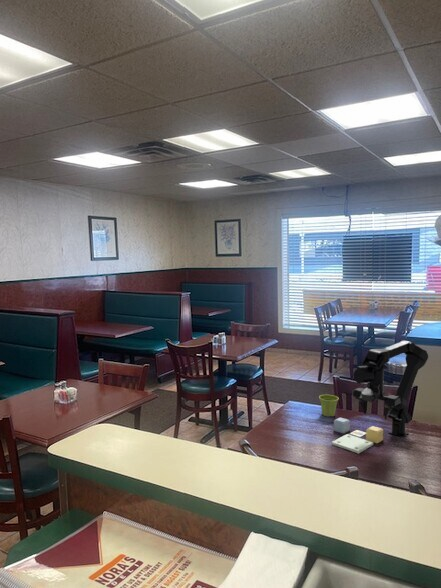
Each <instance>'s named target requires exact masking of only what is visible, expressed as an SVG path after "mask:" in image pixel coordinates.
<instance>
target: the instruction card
mask: <svg viewBox="0 0 441 588" xmlns="http://www.w3.org/2000/svg"><path fill="white" fill-rule="evenodd" d="M349 435H352V436H355V437H358V438H362V437H363V436H366V432H365V431H362V430H359V429H356V430H354V431H352V432H350V433H349Z"/></svg>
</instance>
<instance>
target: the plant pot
mask: <svg viewBox="0 0 441 588" xmlns="http://www.w3.org/2000/svg"><path fill="white" fill-rule="evenodd" d="M318 398H319V402H320V408H321V415H323V416H324V417H328V418H329V417H335V415H336V409H337V404H338V401H339V400H340V398H339V397H338V396H337V395H334V394H333V395H332V394H320V395H318Z"/></svg>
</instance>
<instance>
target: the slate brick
mask: <svg viewBox="0 0 441 588" xmlns="http://www.w3.org/2000/svg"><path fill="white" fill-rule="evenodd" d="M350 424H351V420H349V419H347V418H343V417H338V418H336V419H334V420H333V431H334V432H337V433H340V434H344V435H345V434H346V433H348V432H349V431H351V430H350V429H351V428H350V427H351V425H350Z"/></svg>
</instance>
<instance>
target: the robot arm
mask: <svg viewBox="0 0 441 588" xmlns="http://www.w3.org/2000/svg"><path fill="white" fill-rule="evenodd" d="M402 354H404V355H405V364H406V367H405V369H404V372H403V374H402V377H401V379H400V382H399V385H398V387H397V390H396V392H395V395H393V394H389V395H388V396H387V395H385V391H384V386H385V384H386V382H385V381H384V373H385V370H387V369H388V366H387V365H386V364H387V363H388V362H389V361H390V360H391V359H392V358H394V357H397V356H400V355H402ZM428 360H429V354H428V352H427V351H426V350H425V349H423V348H421V347H419V346H418V345H416V344H415V343H413V342H412V341H410V340H409V341H408V340H401V341H400V342H397V343H395V344H392V345H390V346H386V347H383V348H373V349H369V350H368V352H367V353H366V356H365V358H364V359H363V361H362V363H361V365H359V366H357V367H356V369H355V370H354V372H353V375H352V376H353V380H354V382H356V383H357V384H358V385H359V384H366V387H365V388H363V387H357V388H355V389H353V390H352V397H354V398H355V400H357V401H358V402H359V404H360V405H361V408H362V411H363V414H364V415H366V414H367V411H368V402H369V403H374V401H375V400H377V401H379V400H380V401H384V403H385V404H383V405H384V409H385V410H384V420H385V421H386V420H387V419H388V418H389V419H391V429H390V430H389V431H388V434H391V435H394V436H397V437H401V438H404V437H405V436H407V435H408V434H409V431H406V429H407V424H409V423H411V421H412V419H413V418H412V416H411V414H410V413H409V412H408V411H409V404H408V398H409V395H410V392H411V391H412V388H413V385H414V382H415V380H416V377H417V375H418V371H419V370H420V369H421V368H423V367H424V366H425V364H426V363H427V361H428Z"/></svg>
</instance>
